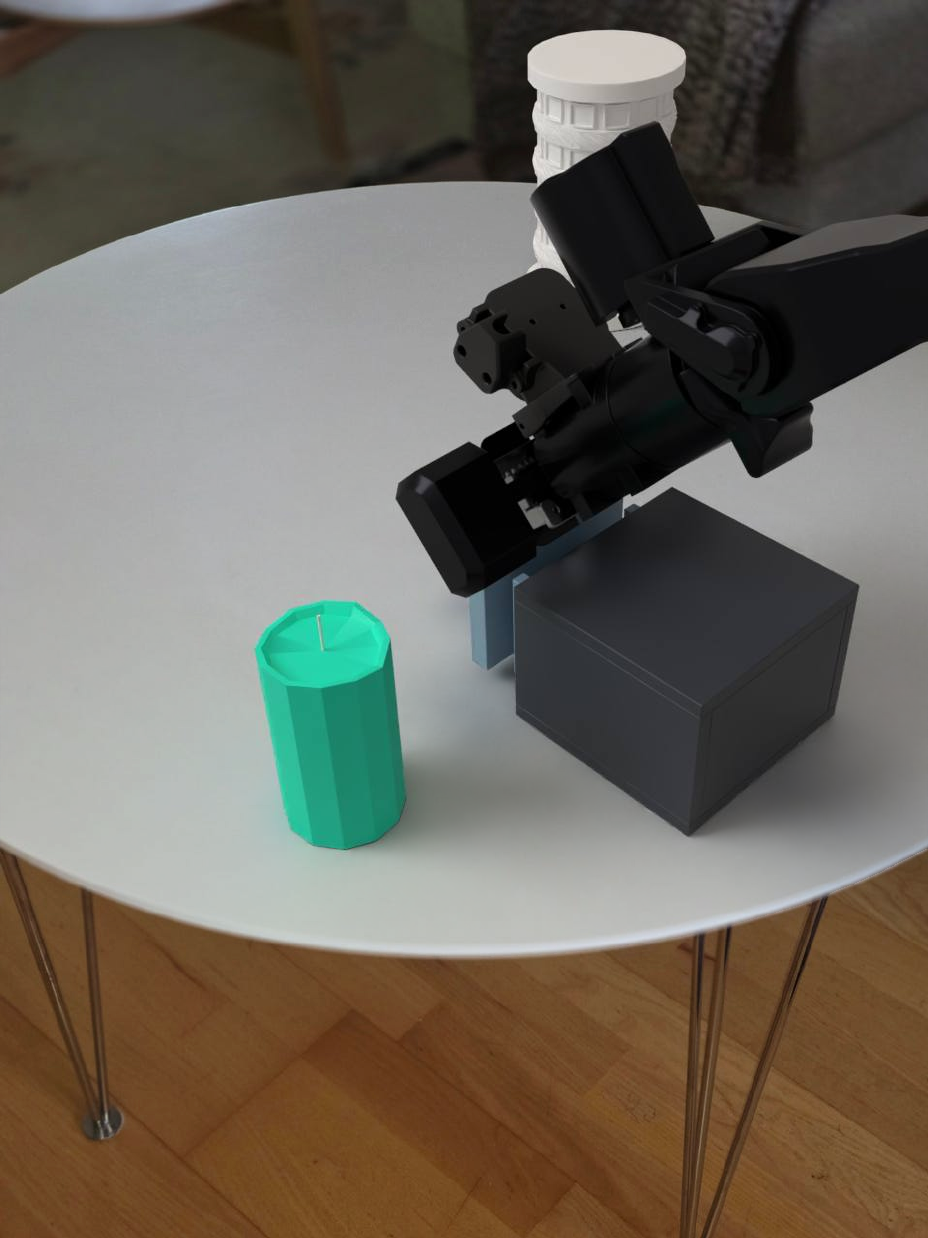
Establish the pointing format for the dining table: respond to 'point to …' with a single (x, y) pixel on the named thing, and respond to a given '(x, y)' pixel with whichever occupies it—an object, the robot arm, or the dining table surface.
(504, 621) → the drawer
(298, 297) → the dining table surface
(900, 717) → the dining table surface
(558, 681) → the dark grey box
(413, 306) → the dining table surface
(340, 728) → the candle
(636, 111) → the decorative container
